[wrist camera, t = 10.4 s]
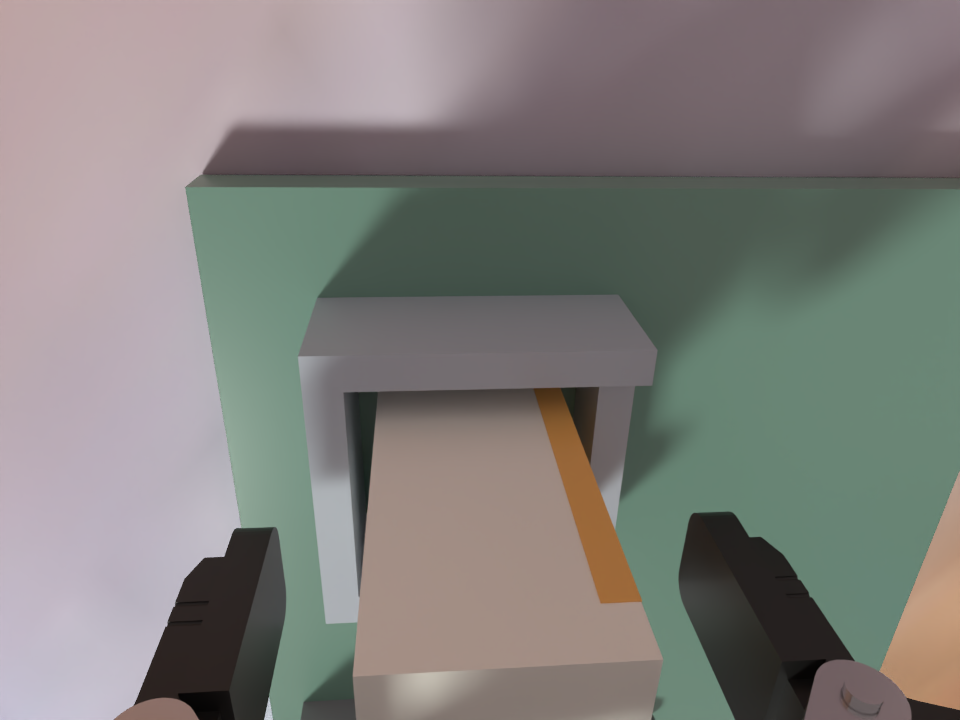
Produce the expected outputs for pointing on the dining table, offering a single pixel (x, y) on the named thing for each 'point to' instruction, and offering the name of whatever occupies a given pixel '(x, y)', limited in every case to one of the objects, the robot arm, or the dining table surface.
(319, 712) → the grey box with knob
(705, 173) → the dining table surface
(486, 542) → the plug
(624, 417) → the frame
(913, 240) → the board
